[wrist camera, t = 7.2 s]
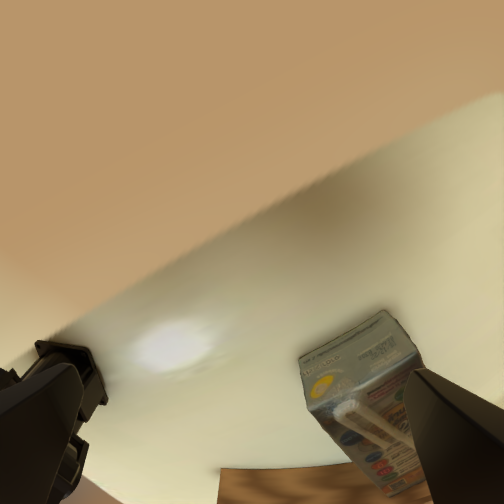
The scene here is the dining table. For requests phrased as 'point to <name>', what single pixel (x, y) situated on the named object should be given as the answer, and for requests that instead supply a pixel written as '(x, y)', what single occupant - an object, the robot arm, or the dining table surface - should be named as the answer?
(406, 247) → the dining table surface
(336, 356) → the beverage carton
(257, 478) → the bookend rail
